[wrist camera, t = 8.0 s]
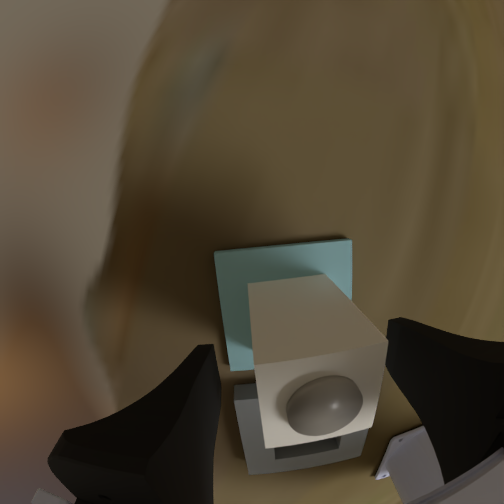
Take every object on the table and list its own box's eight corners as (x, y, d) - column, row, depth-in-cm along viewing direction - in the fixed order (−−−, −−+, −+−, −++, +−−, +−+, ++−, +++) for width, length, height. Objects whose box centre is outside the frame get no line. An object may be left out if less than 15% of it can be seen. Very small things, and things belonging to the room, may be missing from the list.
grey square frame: (371, 363, 16) (380, 376, 15) (355, 443, 18) (360, 455, 17) (234, 384, 16) (233, 400, 15) (248, 461, 18) (249, 474, 16)
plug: (325, 273, 14) (394, 347, 7) (325, 340, 15) (375, 434, 8) (247, 283, 14) (254, 373, 7) (255, 350, 15) (266, 456, 8)
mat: (348, 238, 14) (351, 239, 14) (345, 351, 16) (348, 355, 15) (214, 251, 14) (213, 253, 14) (231, 366, 16) (231, 371, 15)
